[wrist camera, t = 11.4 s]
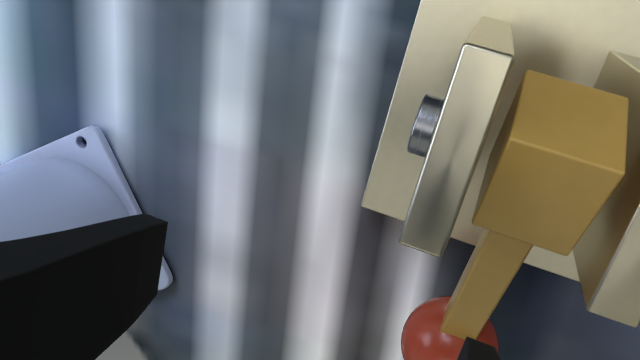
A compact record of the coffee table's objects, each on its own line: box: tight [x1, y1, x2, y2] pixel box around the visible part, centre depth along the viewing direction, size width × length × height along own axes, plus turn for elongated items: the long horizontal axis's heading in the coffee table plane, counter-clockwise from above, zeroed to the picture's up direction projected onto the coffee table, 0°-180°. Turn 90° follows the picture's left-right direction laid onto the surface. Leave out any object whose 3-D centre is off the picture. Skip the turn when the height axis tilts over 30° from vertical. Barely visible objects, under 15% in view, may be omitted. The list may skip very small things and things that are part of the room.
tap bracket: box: [361, 0, 640, 328], centre depth 16 cm, size 11×9×10 cm
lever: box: [401, 70, 629, 360], centre depth 16 cm, size 12×3×3 cm, turn 166°
